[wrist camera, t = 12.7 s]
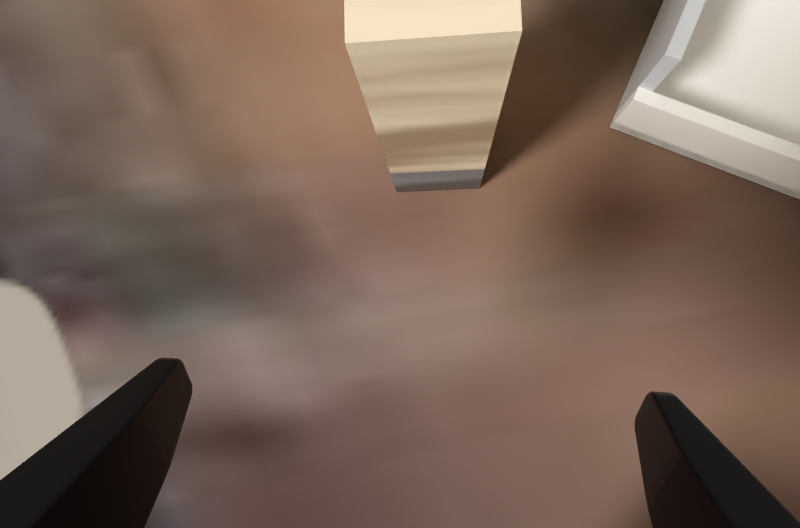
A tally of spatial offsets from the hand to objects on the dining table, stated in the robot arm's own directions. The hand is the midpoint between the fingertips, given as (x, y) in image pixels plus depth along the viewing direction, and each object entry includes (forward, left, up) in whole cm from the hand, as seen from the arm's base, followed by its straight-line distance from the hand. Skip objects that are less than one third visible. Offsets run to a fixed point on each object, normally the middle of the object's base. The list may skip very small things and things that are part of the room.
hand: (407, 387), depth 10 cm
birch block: (+10, -1, -14) cm, 17 cm away
